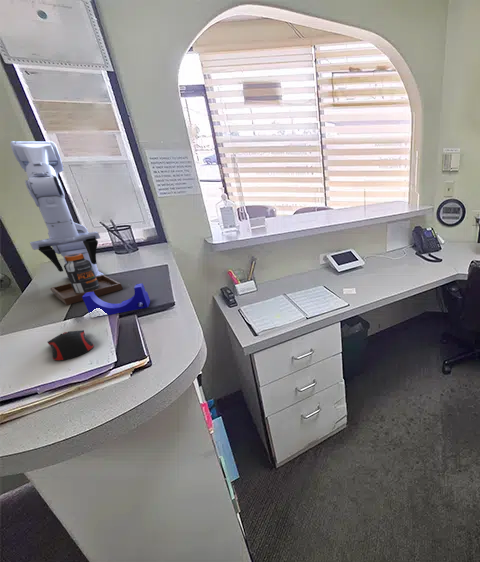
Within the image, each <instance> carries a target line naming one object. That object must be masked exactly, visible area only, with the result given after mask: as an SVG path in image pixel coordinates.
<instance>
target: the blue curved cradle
mask: <svg viewBox="0 0 480 562" xmlns="http://www.w3.org/2000/svg"><path fill="white" fill-rule="evenodd" d="M133 289H134V290H133V291H134V294H133V295H132V297H130V298H128V299H126V300H122V301H121V302H120V303H112V302H107V301H104V300H103V299H101V298H99V296H96V295H95V293H94V291H93V292H87V293H85V294H84V295H83V297H82V298H83V302H84V305H85V307H86V310H87V312H88V314H89V313H90V312H92V311H93V310H94V309H96V308H100V309H102V310H103V311H104V312H105V313H107V314H108V315H107V316H111V315H116V314H122V313H126V312H133V311H137V310H142V309H147V308H149V306H150V303H151V300H150V296H149V293H148V291H146V289H145V285H144V283H143V282H142V283H136V284H135V285H134V287H133Z"/></svg>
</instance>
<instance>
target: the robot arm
mask: <svg viewBox="0 0 480 562" xmlns="http://www.w3.org/2000/svg"><path fill="white" fill-rule="evenodd" d="M9 145H10V148H11V151H12V153H13V155H14V157H15V159H16V161H17V162H18V163H19V165H20V167H21V169H23V170H24V172H25V173H26V176H27V180H26V179H25V180H24V183H25V186H26V188H27V191H28V193H29V195H30V197H31V198H32V199H33V201H34V203H35V205H36V207H38V209H39V212H40V214H41V216H42V219H43V221H44V223H45V226H46V228H47V230H48V231H47V234H48V238H45V239H39V240H35V241H30V242H29V244H30V247H31V249H32V250H34V251H36V250H38V251H39V252H40V253H41V254H43V255H44V256H45V257H46V258H48V260H49V261H50V262H51V263H52V264H53V265H54V266H55V267H56V269H57V271H58V272H60V273H61V272H64V267H62V264H61V262H60V261H59V258H58V256H57V255H60V256H61V257H62V258H63V261H64V264H66V263H67V261H66V260H65V256H67V255H71V254H79V253H81V254H83V256H84V259H85V260H88V261H90V263H91V265H92V268H93V270H94V273H95V276H96V277H97V276H101V275H105V274H104V273H102V272H101V271H100V270H99V268H98V266H97V249H98V244H99V242H98V241H99V240H100V239H101V236H100V233H99V232H98V231H90V232H89V229H88V228H87V227H86V226H85V225H83V224H80V223H78V222H74V220H73V217H72V214H71V211H70V209H69V206H68V204H67V201H66V199H65V198H66V194H65V191H64V188H63V185H62V183H61V181H60V179H59V174H60V173H62V172H64V165H63V162H62V161H63V160H62V157H61V155H60V153H59V150H58V147H57V144H56V143H55V142H53V140H49V141H22V140H21V141H20V140H19V141H15V140H11V141H10V142H9ZM66 277H67V279H69V278H68V276H66Z"/></svg>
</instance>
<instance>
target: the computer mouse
mask: <svg viewBox="0 0 480 562" xmlns="http://www.w3.org/2000/svg"><path fill="white" fill-rule="evenodd" d="M47 344H48V345H49V347H51V349H52V359H53V360H54V361H57V362H60V361H66V360H70V359H73V358H77V357H80V356H81V355H84V354H86V353H88V352H90V351H91V350H92V349H93V348H94V346H95V345H94V343H93V342H92V341H91V340H90V339H88V338H87V337H86V333H85V330H84V329H81V330H69V331H64V332H62V333H60V334H57V336H55V337H53V338H52V339H49V340H48V341H47Z"/></svg>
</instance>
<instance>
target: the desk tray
mask: <svg viewBox="0 0 480 562" xmlns="http://www.w3.org/2000/svg"><path fill="white" fill-rule="evenodd" d="M96 278H97V281H98V283H99V286H100V287H99V288H98V289H96V290H92V291H89V292H93V291H94V293H95V295H96V296H97V297H101V296H104V295H108V294H112V293H114V292H119V291H122V290H124V288H123V286H122V283H121V282H119V281H117V280H115V279H113V278H111V277H109V276H107V275H106V274H104V275H101V276H97V277H96ZM50 290H51V293H52V294H53V296H55V297H56V298H57V299H59V300H60V302H62V303H63V304H65V306H69V305H72V304H76V303H79V302H84V300H83V298H82V297H83V295H84V294H85V293H87V292H85V293H75V292H74V290H73V288H72V285H71V283H70V282H69V283H65V284H61V285H56V286H53V287H52V286H51V287H50Z"/></svg>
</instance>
